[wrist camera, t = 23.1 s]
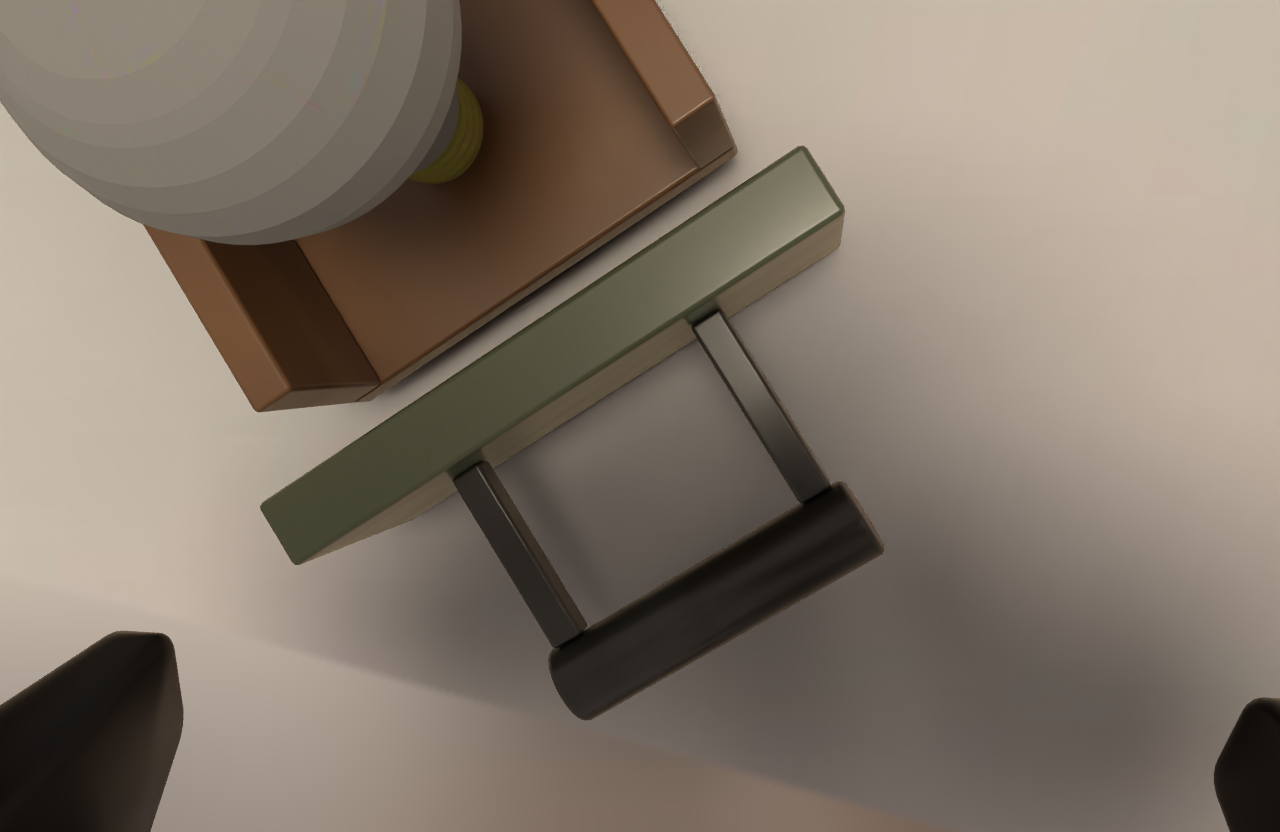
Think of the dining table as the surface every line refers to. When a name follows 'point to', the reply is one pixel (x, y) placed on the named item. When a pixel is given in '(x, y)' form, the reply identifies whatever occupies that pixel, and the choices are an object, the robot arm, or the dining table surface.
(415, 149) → the light bulb
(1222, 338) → the dining table surface
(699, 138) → the drawer
